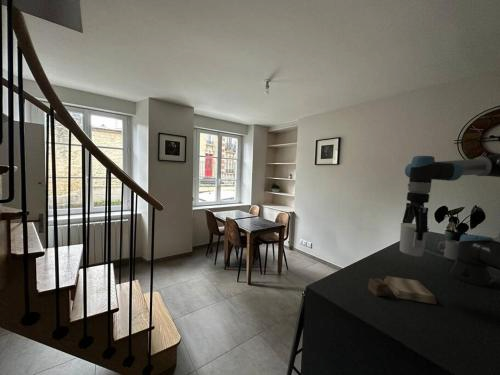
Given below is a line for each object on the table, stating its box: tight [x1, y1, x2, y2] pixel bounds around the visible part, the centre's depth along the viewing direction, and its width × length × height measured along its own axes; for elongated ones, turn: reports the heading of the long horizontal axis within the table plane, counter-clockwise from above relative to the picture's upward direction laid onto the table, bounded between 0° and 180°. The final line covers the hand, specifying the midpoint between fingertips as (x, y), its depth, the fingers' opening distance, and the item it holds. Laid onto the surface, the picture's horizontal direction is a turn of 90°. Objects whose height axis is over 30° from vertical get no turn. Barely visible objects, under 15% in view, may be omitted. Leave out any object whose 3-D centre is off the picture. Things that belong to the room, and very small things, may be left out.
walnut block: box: [367, 277, 389, 297], centre depth 94 cm, size 5×5×5 cm
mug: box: [437, 239, 460, 261], centre depth 143 cm, size 12×8×11 cm
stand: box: [383, 275, 437, 305], centre depth 96 cm, size 14×14×3 cm
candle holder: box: [399, 222, 430, 257], centre depth 95 cm, size 10×10×12 cm
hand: (411, 243), depth 96 cm, fingers closed on candle holder, 9 cm apart
